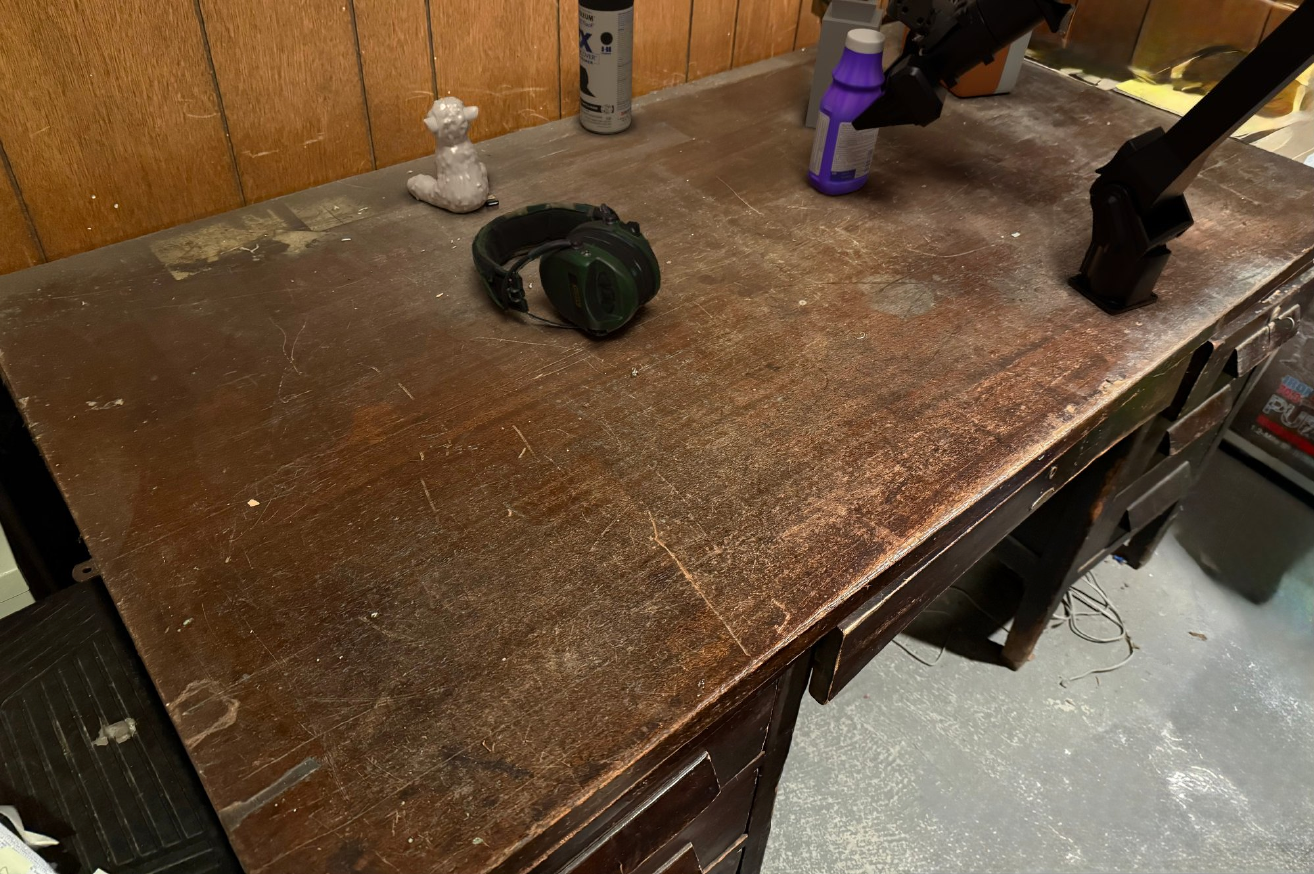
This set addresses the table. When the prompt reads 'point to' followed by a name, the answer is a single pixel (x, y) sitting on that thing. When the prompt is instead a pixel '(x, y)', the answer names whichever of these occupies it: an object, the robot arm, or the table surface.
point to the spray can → (605, 64)
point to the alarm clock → (991, 70)
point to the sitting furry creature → (452, 160)
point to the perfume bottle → (838, 43)
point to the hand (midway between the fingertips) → (861, 110)
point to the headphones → (570, 263)
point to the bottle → (848, 116)
